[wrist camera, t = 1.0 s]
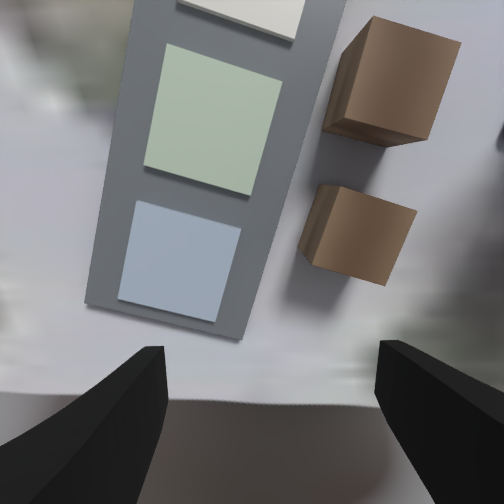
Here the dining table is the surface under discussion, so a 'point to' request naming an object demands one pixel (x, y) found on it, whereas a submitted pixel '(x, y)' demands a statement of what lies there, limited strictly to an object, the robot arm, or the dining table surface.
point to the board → (205, 154)
